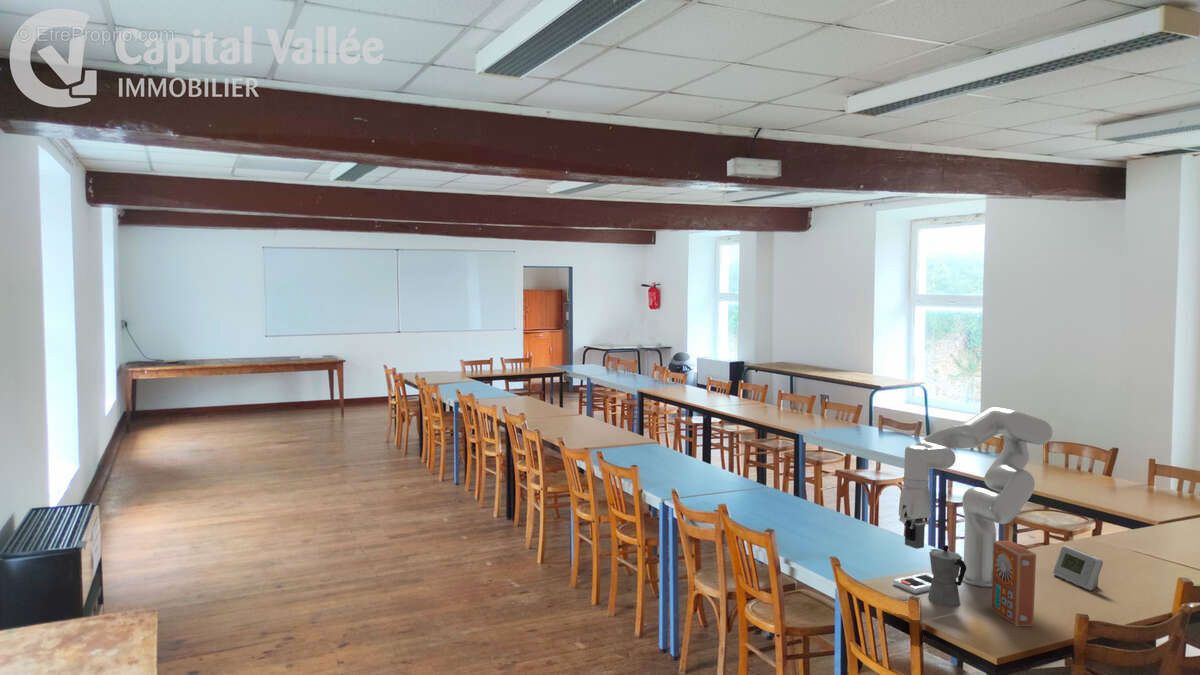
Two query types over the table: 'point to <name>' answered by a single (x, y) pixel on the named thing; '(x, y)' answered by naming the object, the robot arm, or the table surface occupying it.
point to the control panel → (1013, 583)
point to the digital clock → (1078, 567)
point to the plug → (917, 535)
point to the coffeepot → (946, 576)
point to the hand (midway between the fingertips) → (914, 538)
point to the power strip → (915, 583)
